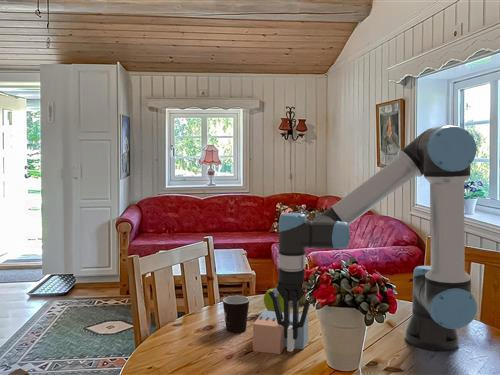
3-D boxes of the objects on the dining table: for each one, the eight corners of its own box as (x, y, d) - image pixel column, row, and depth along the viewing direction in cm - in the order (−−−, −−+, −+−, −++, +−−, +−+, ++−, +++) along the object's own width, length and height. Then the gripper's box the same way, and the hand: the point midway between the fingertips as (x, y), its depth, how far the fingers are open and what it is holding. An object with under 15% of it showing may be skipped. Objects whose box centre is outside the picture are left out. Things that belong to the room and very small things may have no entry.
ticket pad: (308, 340, 149) (308, 314, 149) (303, 349, 143) (303, 322, 142) (264, 335, 153) (264, 309, 153) (257, 343, 147) (257, 317, 146)
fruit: (291, 310, 176) (291, 283, 175) (287, 319, 167) (287, 291, 166) (266, 308, 178) (266, 281, 177) (261, 317, 169) (261, 289, 168)
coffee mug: (246, 335, 153) (246, 304, 152) (219, 333, 155) (219, 303, 154) (253, 322, 164) (253, 293, 163) (228, 320, 166) (228, 292, 165)
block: (283, 347, 144) (284, 320, 143) (279, 354, 139) (279, 326, 139) (257, 343, 146) (257, 317, 146) (252, 350, 142) (253, 323, 141)
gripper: (317, 266, 139) (315, 347, 141) (272, 263, 142) (272, 341, 144) (312, 273, 131) (311, 357, 133) (265, 269, 135) (265, 351, 137)
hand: (290, 349), depth 139 cm, fingers closed
